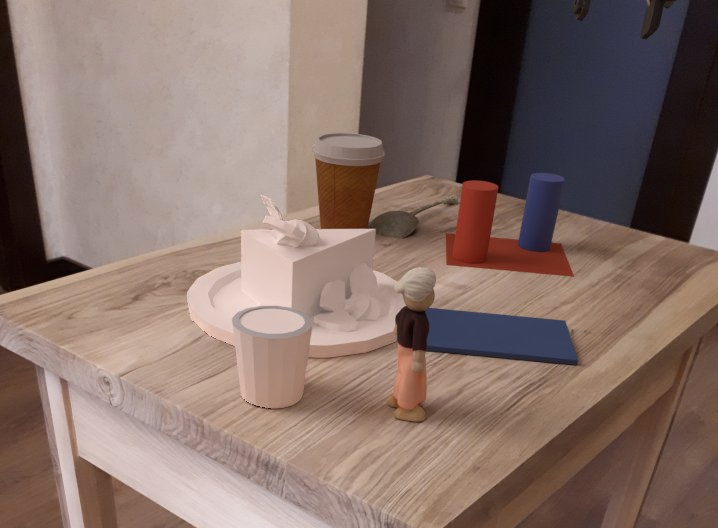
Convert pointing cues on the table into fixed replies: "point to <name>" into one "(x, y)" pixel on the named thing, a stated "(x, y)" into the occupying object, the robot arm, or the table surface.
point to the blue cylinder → (540, 211)
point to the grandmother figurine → (412, 343)
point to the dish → (303, 285)
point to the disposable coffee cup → (346, 178)
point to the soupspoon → (403, 220)
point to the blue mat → (500, 336)
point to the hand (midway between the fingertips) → (614, 26)
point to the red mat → (516, 258)
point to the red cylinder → (475, 221)
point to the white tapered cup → (272, 354)
